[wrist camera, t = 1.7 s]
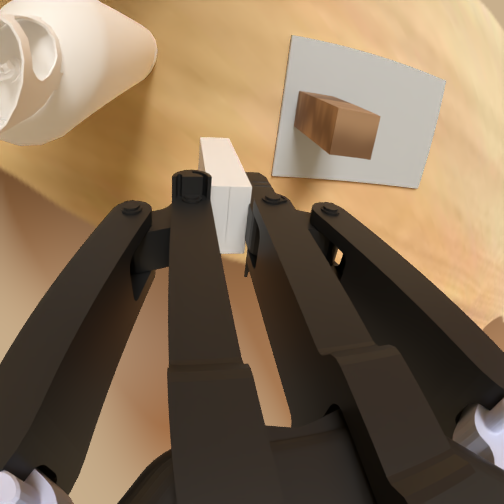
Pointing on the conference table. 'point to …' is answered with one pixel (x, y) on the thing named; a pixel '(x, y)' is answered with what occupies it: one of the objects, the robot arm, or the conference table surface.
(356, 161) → the felt mat
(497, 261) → the conference table surface
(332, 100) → the walnut block
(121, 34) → the bottle
